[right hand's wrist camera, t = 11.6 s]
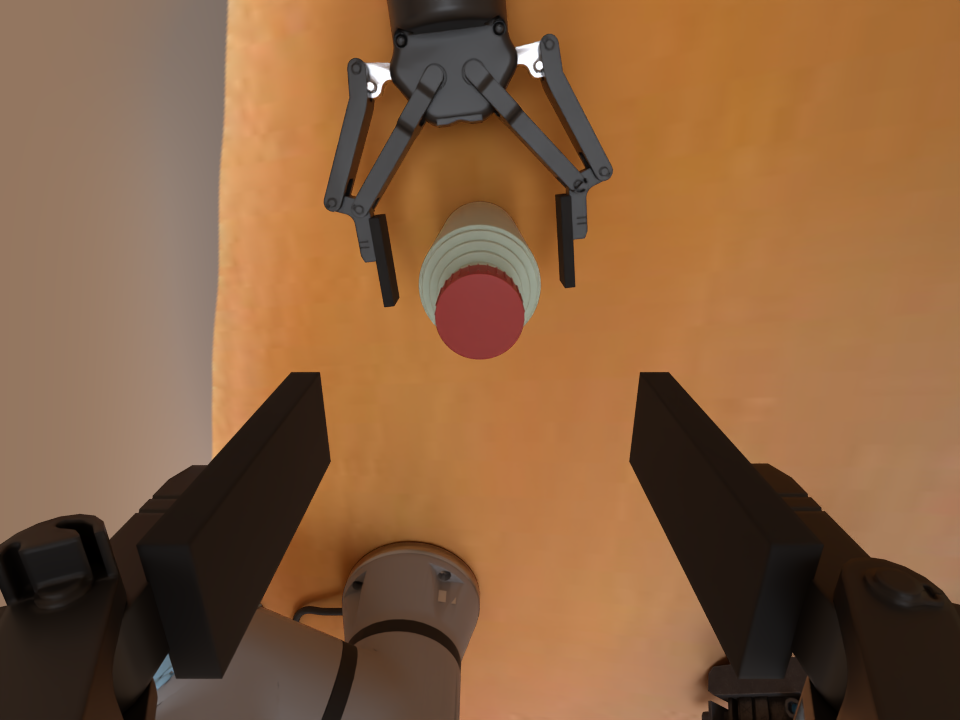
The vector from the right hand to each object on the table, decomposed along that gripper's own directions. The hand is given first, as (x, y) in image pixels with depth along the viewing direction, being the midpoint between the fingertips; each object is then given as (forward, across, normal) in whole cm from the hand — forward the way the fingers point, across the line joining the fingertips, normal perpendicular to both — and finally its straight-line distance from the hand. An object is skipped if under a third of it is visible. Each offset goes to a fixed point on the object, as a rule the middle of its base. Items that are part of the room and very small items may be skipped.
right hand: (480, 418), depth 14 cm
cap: (+10, 0, 0) cm, 10 cm away
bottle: (+33, 0, 0) cm, 33 cm away
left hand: (+27, 0, -3) cm, 27 cm away
